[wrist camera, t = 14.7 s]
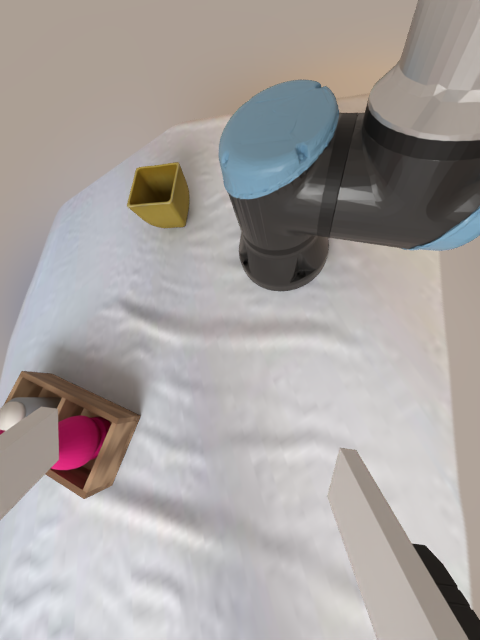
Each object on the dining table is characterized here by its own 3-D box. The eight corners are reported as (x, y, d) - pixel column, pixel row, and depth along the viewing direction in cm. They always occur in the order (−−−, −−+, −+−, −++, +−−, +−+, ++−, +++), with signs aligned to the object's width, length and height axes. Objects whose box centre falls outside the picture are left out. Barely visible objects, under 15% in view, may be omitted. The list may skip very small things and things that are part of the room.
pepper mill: (84, 470, 40) (-102, 537, 21) (72, 427, 42) (-104, 453, 24) (122, 446, 40) (-33, 493, 21) (108, 405, 42) (-41, 413, 23)
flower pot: (153, 237, 52) (125, 206, 44) (160, 202, 54) (135, 166, 46) (192, 235, 50) (171, 202, 41) (198, 199, 52) (179, 161, 44)
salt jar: (49, 392, 45) (5, 392, 39) (71, 403, 44) (30, 405, 37) (34, 423, 44) (-14, 428, 37) (56, 436, 43) (10, 443, 36)
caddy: (51, 373, 48) (21, 371, 42) (140, 415, 42) (118, 418, 36) (22, 431, 45) (-14, 436, 40) (112, 485, 39) (84, 499, 34)
